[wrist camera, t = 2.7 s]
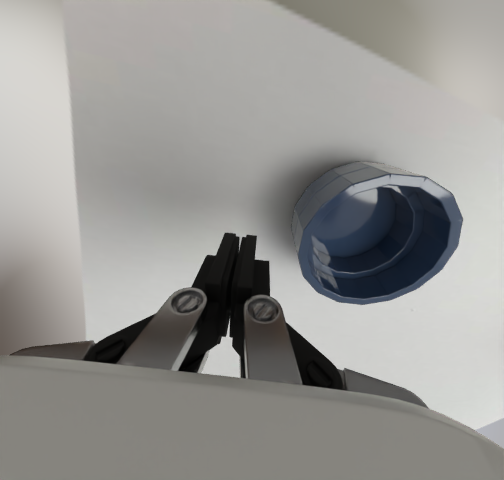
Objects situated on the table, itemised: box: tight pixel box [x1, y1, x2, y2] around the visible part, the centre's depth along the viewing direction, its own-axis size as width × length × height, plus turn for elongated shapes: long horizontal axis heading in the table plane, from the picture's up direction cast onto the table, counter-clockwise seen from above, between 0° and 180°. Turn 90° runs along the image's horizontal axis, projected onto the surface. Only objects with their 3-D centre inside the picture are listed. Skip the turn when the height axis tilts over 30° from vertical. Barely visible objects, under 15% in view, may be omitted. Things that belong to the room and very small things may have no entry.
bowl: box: [291, 161, 463, 305], centre depth 15 cm, size 9×9×5 cm
